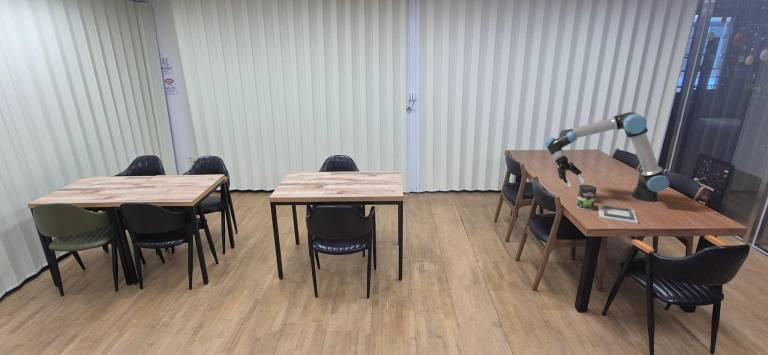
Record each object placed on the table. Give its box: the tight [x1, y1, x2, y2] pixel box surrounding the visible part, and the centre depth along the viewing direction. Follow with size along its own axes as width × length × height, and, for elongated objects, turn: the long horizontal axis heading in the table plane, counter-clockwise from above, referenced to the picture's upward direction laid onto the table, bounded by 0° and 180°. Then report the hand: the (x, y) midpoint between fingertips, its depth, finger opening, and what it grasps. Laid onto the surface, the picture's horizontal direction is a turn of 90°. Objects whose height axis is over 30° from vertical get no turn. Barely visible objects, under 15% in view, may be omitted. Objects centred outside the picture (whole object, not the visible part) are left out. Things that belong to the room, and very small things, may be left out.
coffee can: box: [575, 184, 598, 211], centre depth 239 cm, size 10×10×14 cm
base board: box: [597, 205, 639, 225], centre depth 227 cm, size 20×20×2 cm
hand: (576, 184), depth 243 cm, fingers open, 13 cm apart
